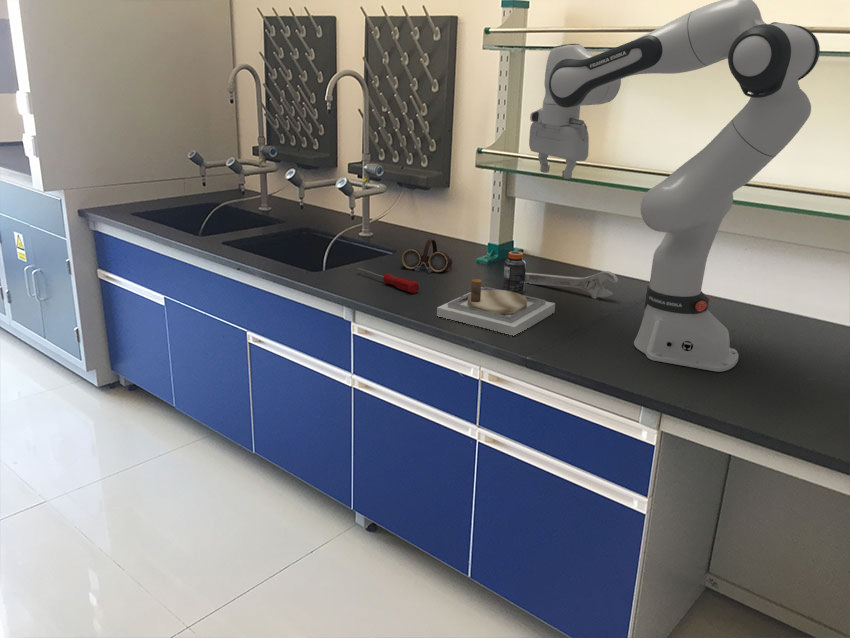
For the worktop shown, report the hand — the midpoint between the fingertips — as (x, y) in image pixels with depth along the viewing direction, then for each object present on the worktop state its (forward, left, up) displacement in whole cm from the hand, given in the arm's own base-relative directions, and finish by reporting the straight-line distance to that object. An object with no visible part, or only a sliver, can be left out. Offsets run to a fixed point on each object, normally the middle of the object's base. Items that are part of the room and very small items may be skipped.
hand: (555, 175), depth 176 cm
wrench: (+2, -19, -36) cm, 40 cm away
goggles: (+46, -14, -36) cm, 60 cm away
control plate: (+8, +11, -35) cm, 38 cm away
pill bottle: (+14, -9, -35) cm, 39 cm away
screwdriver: (+46, +8, -35) cm, 59 cm away
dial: (+8, +11, -32) cm, 35 cm away
